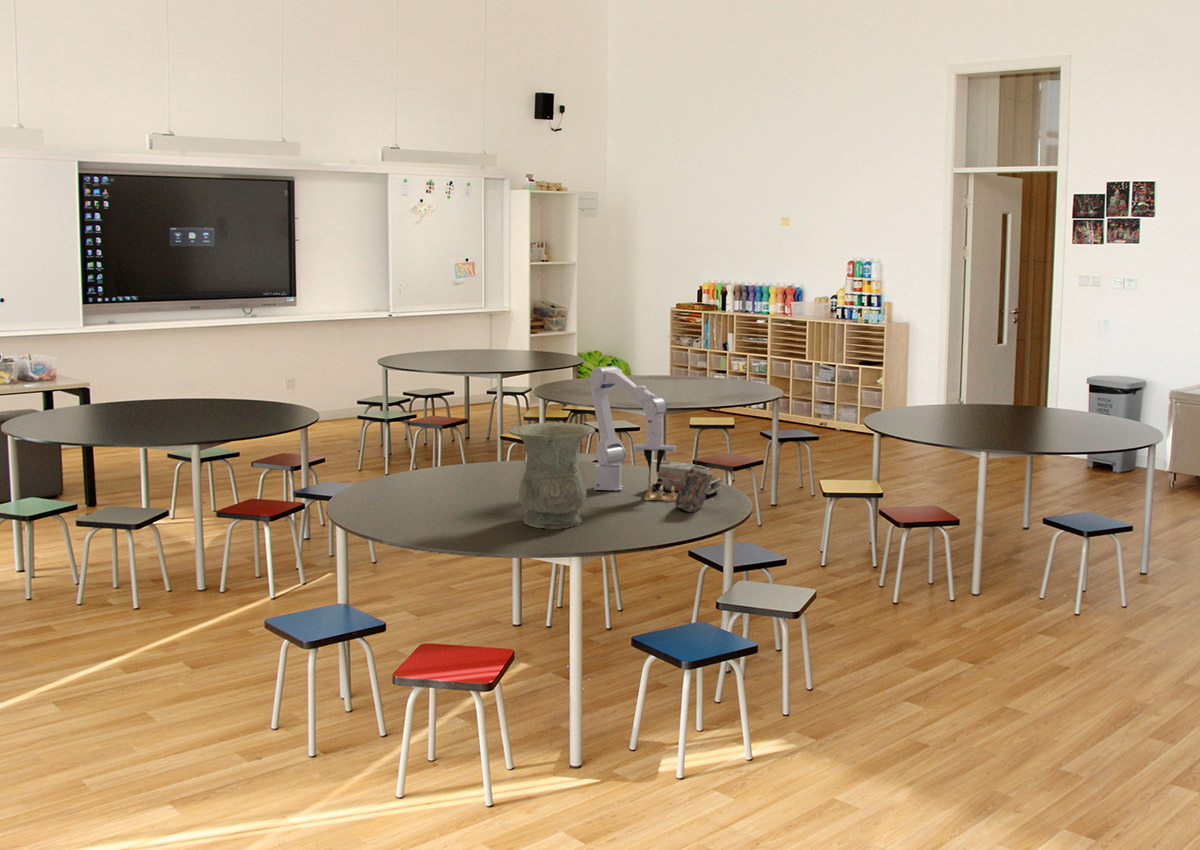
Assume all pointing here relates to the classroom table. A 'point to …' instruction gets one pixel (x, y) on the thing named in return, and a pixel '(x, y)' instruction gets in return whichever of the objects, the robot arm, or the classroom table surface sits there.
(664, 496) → the rack
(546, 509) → the vessel
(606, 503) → the classroom table surface
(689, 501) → the stone
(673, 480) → the toy car
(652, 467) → the tall cream block
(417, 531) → the classroom table surface
